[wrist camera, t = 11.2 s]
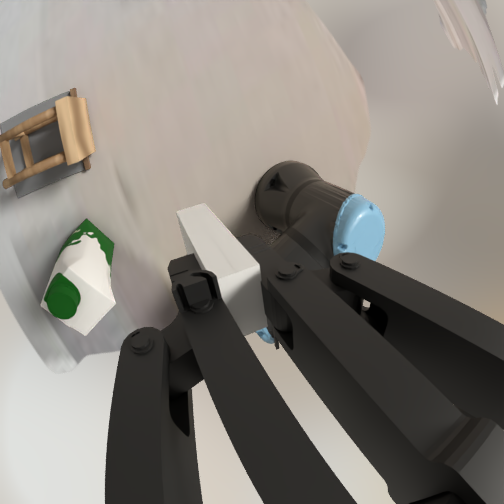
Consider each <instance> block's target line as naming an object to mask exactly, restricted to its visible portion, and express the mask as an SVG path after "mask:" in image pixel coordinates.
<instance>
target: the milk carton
mask: <svg viewBox="0 0 504 504" xmlns="http://www.w3.org/2000/svg"><path fill="white" fill-rule="evenodd" d="M113 249H114V243H113V242H112V241H111V240H110V239H109V238H108V237H106V236H105V235H104V234H103V233H102V232H101V231H100V230H99V229H98V228H97V227H95V226H94V225H93V224H92V223H91V222H90V221H89V220H88V219H86V220H85V221H84V222H83V223H82V224H81V225H80V226H79V227H78V228H77V229H76V230H75V232H74V233H73V234H72V235H71V236H70V237H69V239H68V240H67V241H66V242H65V244H64V245H63V247H62V249H61V251H60V253H59V256H58V258H57V261H56V264H55V266H54V269H53V271H52V274H51V277H50V280H49V282H48V285H47V288H46V290H45V293H44V296H43V299H42V302H41V307H42V308H44V309H45V310H46V311H48V312H49V313H51V314H52V315H53V316H55V317H56V318H58V319H59V320H60V321H62V322H63V323H64V324H66V325H67V326H69V327H70V328H71V327H72V328H74V329H75V330H77V331H78V332H80V333H82V334H83V335H85V336H86V335H87V334H88V333H89V332H90V331H91V329H92V328H93V327H94V326H95V325H96V324H97V323H98V322H99V321H100V320H101V319H102V318H103V317H104V315H105V314H106V313H107V312H108V311H109V310H110V309H111V308H112V307H113V306H114V305H115V304H116V302H115V299H114V296H113V293H112V290H111V264H112V256H113Z"/></svg>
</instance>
